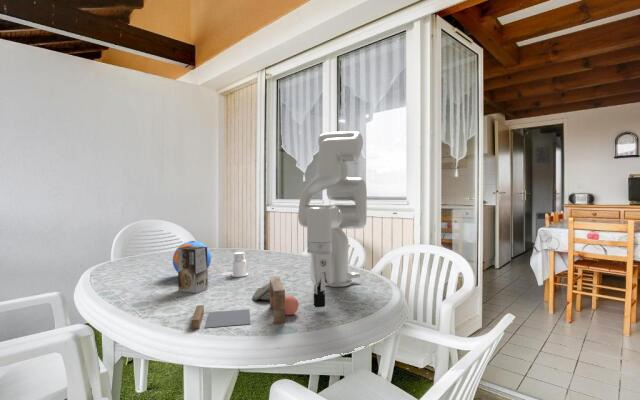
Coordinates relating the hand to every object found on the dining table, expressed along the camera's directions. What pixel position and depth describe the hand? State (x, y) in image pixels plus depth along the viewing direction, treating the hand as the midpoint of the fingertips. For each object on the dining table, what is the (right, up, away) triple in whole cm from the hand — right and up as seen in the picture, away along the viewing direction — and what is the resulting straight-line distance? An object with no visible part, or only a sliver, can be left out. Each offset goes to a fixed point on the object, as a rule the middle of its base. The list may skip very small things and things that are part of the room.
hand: (319, 306), depth 106 cm
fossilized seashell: (-18, -2, +13) cm, 22 cm away
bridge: (-13, -2, -3) cm, 13 cm away
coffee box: (-47, -1, +23) cm, 53 cm away
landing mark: (-26, -2, -6) cm, 27 cm away
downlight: (-35, -1, +45) cm, 57 cm away
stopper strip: (-35, -2, -8) cm, 36 cm away
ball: (-9, +1, -3) cm, 10 cm away
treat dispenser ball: (-55, -1, +43) cm, 70 cm away
